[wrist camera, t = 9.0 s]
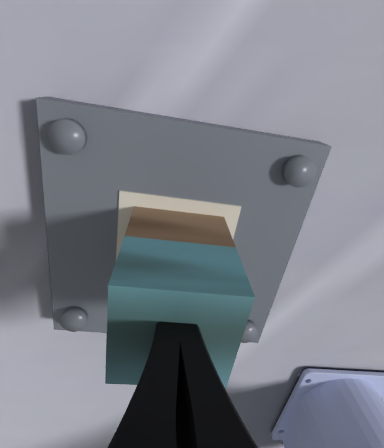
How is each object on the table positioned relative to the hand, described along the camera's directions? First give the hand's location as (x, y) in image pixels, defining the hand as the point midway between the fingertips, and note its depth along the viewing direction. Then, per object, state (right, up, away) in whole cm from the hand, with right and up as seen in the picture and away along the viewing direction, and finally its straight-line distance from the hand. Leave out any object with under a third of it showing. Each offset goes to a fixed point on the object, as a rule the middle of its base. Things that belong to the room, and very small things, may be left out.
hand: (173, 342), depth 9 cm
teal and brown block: (0, +3, +5) cm, 6 cm away
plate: (0, +3, +6) cm, 7 cm away
